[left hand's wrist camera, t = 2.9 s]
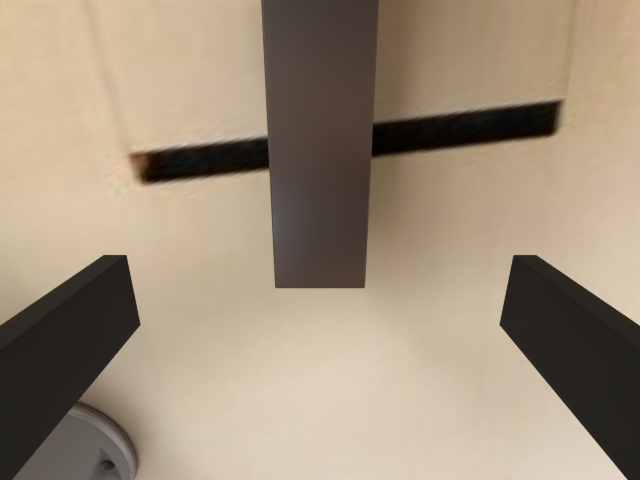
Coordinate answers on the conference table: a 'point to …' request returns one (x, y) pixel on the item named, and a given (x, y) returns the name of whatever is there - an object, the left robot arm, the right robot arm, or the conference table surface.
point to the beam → (320, 137)
